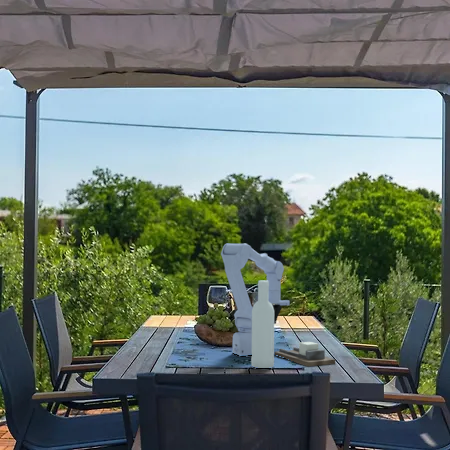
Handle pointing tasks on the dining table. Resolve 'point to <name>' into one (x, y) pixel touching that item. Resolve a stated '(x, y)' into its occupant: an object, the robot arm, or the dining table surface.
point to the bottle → (263, 329)
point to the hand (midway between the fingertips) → (273, 323)
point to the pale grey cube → (307, 347)
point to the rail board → (306, 362)
